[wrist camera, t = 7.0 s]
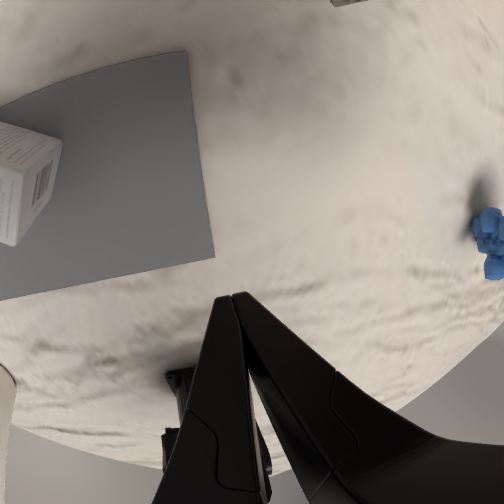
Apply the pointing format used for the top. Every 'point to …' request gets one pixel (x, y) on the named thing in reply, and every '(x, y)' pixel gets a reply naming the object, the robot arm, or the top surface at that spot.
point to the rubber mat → (113, 178)
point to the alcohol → (5, 421)
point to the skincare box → (24, 178)
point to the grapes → (491, 241)
